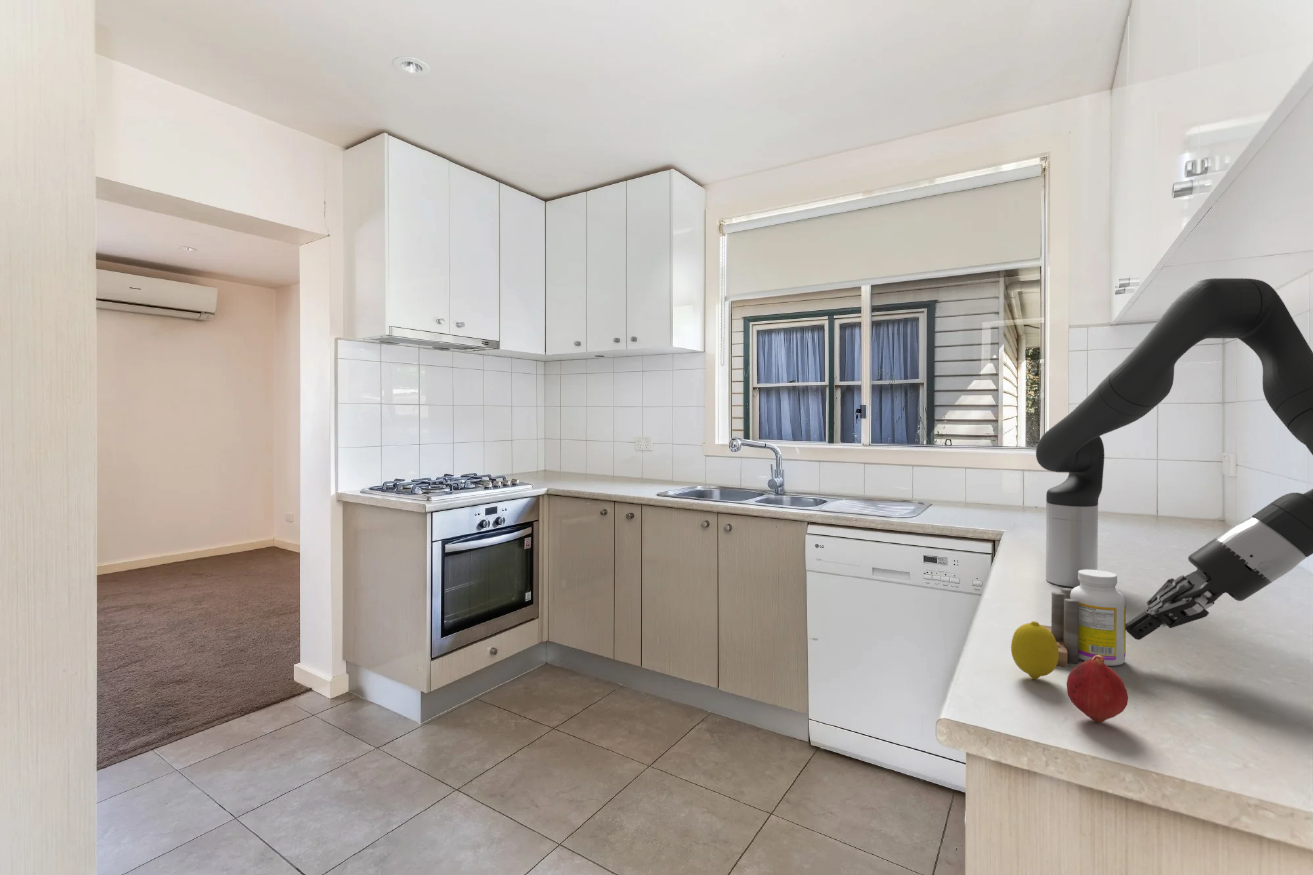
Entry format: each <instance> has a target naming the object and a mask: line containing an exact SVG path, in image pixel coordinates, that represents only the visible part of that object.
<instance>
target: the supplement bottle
mask: <svg viewBox="0 0 1313 875" xmlns="http://www.w3.org/2000/svg"><path fill="white" fill-rule="evenodd" d="M1078 579H1079V582H1080V586H1077V587H1072V588H1071V589H1072V591H1071V593H1070V599H1074V600H1078V601H1079V642H1078V660H1080V661H1082V662H1085V661H1088V660H1090V659H1092V658H1093V657H1094V656H1096V655H1100V656H1103V657H1104V664H1105V665H1107V666H1108V667H1112V666H1120V665H1123V664H1124V663H1125V662H1126V643H1127V642H1126V637H1127V636H1126V635H1127V634H1126V632H1127V631H1126V623H1127V622H1126V613H1127V612H1126V608H1127V607H1126V606H1127V605H1126V602H1127V601H1126V597H1125V596H1124V594H1123V593H1122V592H1120V591H1119V590H1117V589H1116V586H1117V584H1118V575H1117V574H1116V573H1114V572H1110V571H1107V570H1100V569H1097V570H1079V571H1078Z"/></svg>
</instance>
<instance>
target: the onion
mask: <svg viewBox="0 0 1313 875" xmlns="http://www.w3.org/2000/svg"><path fill="white" fill-rule="evenodd" d="M1066 678H1067V679H1066V683H1065V684H1066V690H1067V691H1066V692H1067V696H1068V698H1069V700H1070V701H1071V704H1073V705H1074V706H1075V708H1076V709H1078V710H1079V711H1080V712H1082V713H1083V714H1084V715H1085V716H1087V717H1089V719H1091V720H1092V721H1093V722H1095V723H1099V724H1101V723H1103V722H1105V721H1107V720H1109V719H1112V718H1115V717H1117V716H1118V715H1120V714H1121V713H1122V712H1124V710H1126V708H1127V706H1128V703H1129V696H1128V691H1127V688H1126V686H1125V682H1124V681H1123V679H1122V678H1121V677H1120V675H1119V674H1118V673H1117V672H1116V671H1115V670H1114V669H1112V668H1111V666H1107V665H1105V664H1104V657H1103V656H1100V655H1096V656H1094V657H1093V658H1092V659H1090V660H1088V661H1082V662H1081V663H1079V664H1078V665H1076V666H1075V667H1073V668H1072V669H1071V671H1070V672H1069V673H1068V676H1067V677H1066Z"/></svg>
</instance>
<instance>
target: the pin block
mask: <svg viewBox="0 0 1313 875" xmlns="http://www.w3.org/2000/svg"><path fill="white" fill-rule="evenodd" d="M1072 589H1073V588H1070V587H1064V588H1063V587H1062V588H1061V589H1060V590H1061V591H1058V592H1057V591H1052V592H1051V617H1050V618H1051V626H1050V625H1045V624H1041V625H1042V626H1044V627H1045V628H1047V629H1048V630H1049V631H1050V632H1051V633H1052V634H1053V636H1054V637H1055V640H1056V642H1057V646H1058V651H1059V658H1058V663H1057V665H1056V666H1060V667H1061V666H1062V667H1065V666H1067V667H1068V663H1069V662H1071V663H1070V664H1078V663H1079V659H1078V642H1079V601H1078V600H1074V599H1070V593H1071V591H1072Z"/></svg>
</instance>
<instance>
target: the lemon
mask: <svg viewBox="0 0 1313 875" xmlns="http://www.w3.org/2000/svg"><path fill="white" fill-rule="evenodd" d="M1042 625H1043V624H1040V623H1039V622H1038V621H1031V622H1029V623H1023V624H1021V625H1020V626H1019V627H1017V628H1016V629H1015V631H1014V633H1013V635H1012V639H1011V644H1010V648H1011V656H1012V659H1013V661H1014V663H1015V665H1016V666H1017V667H1018V668H1019V669H1020V670H1021V672H1023V673H1025V674H1027V675H1028V676H1029V677H1030V678H1031V679H1032V680H1037V679H1039V678H1040V677H1044V676H1048V675H1049V674H1051V673H1052V672H1054V671H1055V669H1056V668H1057V666H1058V665H1057V663H1058V658H1059V651H1058V646H1057V642H1056V640H1055V637H1054V636H1053V634H1052V633H1051V632H1050V631H1049V630H1048V629H1047V628H1045V627H1044V626H1042Z"/></svg>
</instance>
